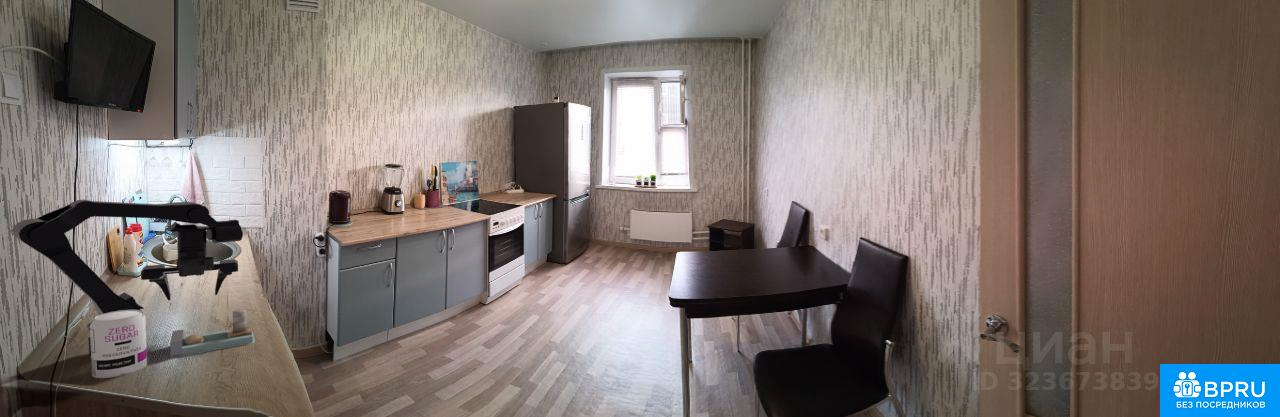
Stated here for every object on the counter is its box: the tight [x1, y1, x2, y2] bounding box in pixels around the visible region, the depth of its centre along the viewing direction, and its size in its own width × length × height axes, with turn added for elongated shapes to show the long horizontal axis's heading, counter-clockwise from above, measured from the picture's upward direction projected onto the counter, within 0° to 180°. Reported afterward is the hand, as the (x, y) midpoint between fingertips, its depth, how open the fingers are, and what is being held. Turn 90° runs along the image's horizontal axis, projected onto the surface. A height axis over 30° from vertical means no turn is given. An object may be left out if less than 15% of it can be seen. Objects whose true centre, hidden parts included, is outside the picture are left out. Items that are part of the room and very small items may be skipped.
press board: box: [170, 329, 256, 359], centre depth 114 cm, size 16×10×3 cm, turn 137°
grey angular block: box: [169, 329, 185, 358], centre depth 109 cm, size 2×9×4 cm, turn 47°
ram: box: [226, 309, 253, 339], centre depth 117 cm, size 5×5×8 cm
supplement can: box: [89, 309, 148, 379], centre depth 98 cm, size 8×8×15 cm
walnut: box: [184, 333, 203, 346], centre depth 111 cm, size 4×4×4 cm
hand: (193, 297), depth 118 cm, fingers open, 9 cm apart
